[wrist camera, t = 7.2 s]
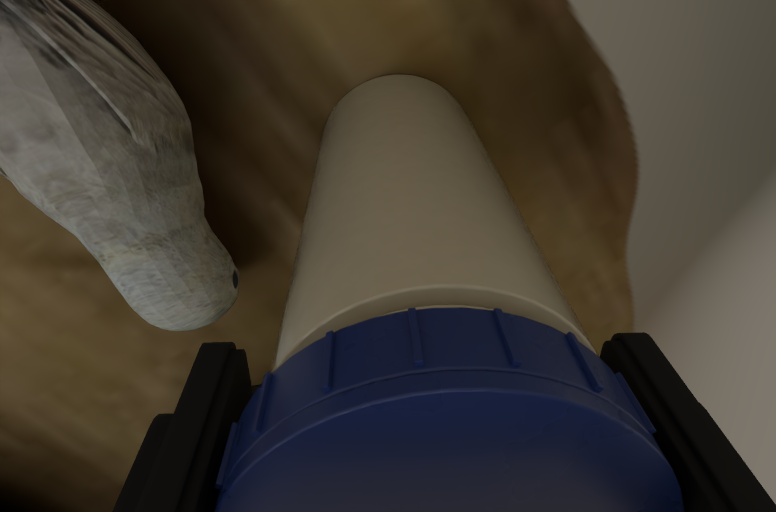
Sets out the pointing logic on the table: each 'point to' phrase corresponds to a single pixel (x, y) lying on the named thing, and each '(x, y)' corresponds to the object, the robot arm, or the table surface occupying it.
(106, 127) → the decorative bird
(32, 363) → the table surface
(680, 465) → the robot arm
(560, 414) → the lid
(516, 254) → the jar
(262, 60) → the table surface
